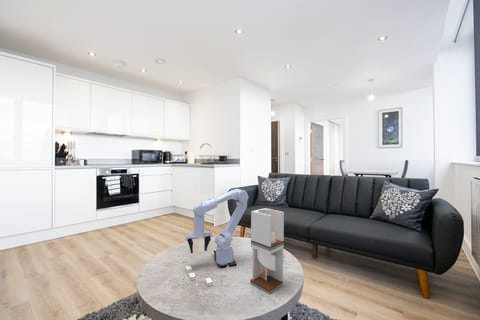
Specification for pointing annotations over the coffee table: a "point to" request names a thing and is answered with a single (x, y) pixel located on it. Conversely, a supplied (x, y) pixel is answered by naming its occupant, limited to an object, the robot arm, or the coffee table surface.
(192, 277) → the switch
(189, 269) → the switch
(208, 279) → the switch
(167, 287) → the coffee table surface
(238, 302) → the coffee table surface
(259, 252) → the white wooden shelf tower
